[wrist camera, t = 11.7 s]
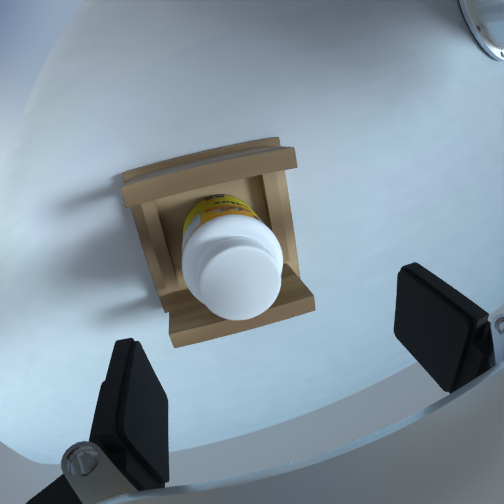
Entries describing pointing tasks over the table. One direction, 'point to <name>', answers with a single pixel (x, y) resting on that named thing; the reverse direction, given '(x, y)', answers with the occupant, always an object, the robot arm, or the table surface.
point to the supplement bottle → (230, 258)
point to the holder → (176, 209)
